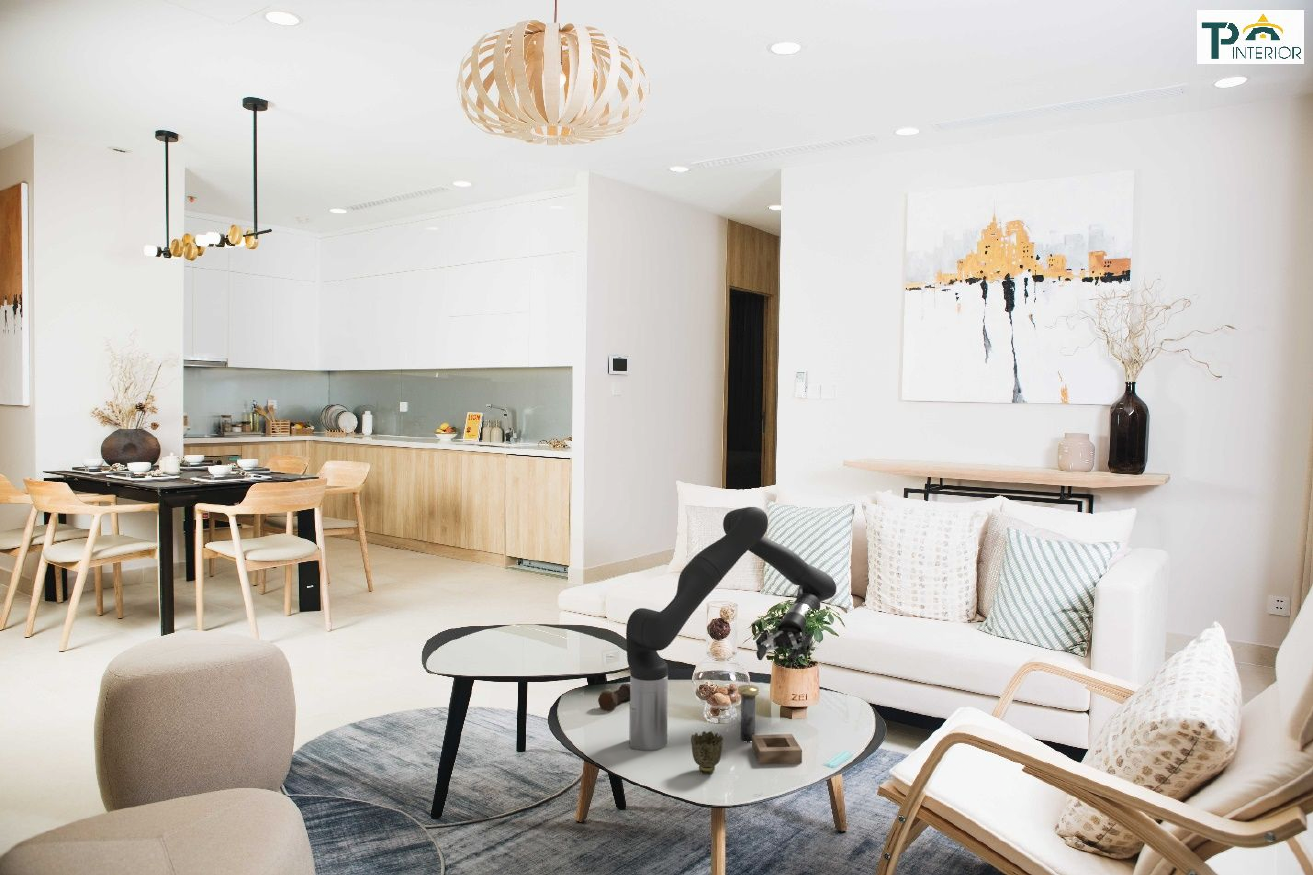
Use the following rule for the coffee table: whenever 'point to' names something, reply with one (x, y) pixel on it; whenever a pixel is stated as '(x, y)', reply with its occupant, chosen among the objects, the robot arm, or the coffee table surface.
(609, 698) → the brown hex dumbbell
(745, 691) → the pin
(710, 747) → the cup
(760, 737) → the socket block
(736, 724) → the coffee table surface
